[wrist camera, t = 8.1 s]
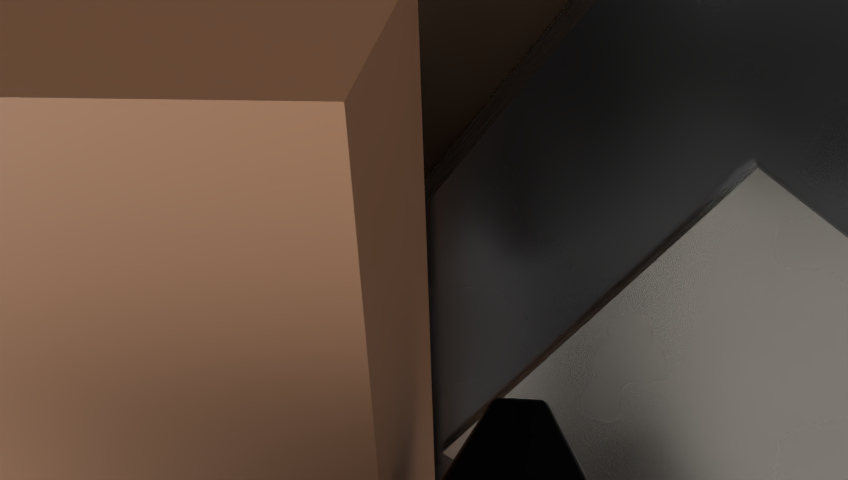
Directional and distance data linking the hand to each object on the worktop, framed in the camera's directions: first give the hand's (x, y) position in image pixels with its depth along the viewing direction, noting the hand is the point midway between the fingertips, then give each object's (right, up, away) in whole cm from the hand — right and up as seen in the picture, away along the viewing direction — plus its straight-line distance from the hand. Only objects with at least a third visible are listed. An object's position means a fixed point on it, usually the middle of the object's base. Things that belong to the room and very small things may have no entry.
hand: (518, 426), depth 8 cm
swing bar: (-3, -1, +5) cm, 6 cm away
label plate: (+2, -1, +4) cm, 5 cm away
